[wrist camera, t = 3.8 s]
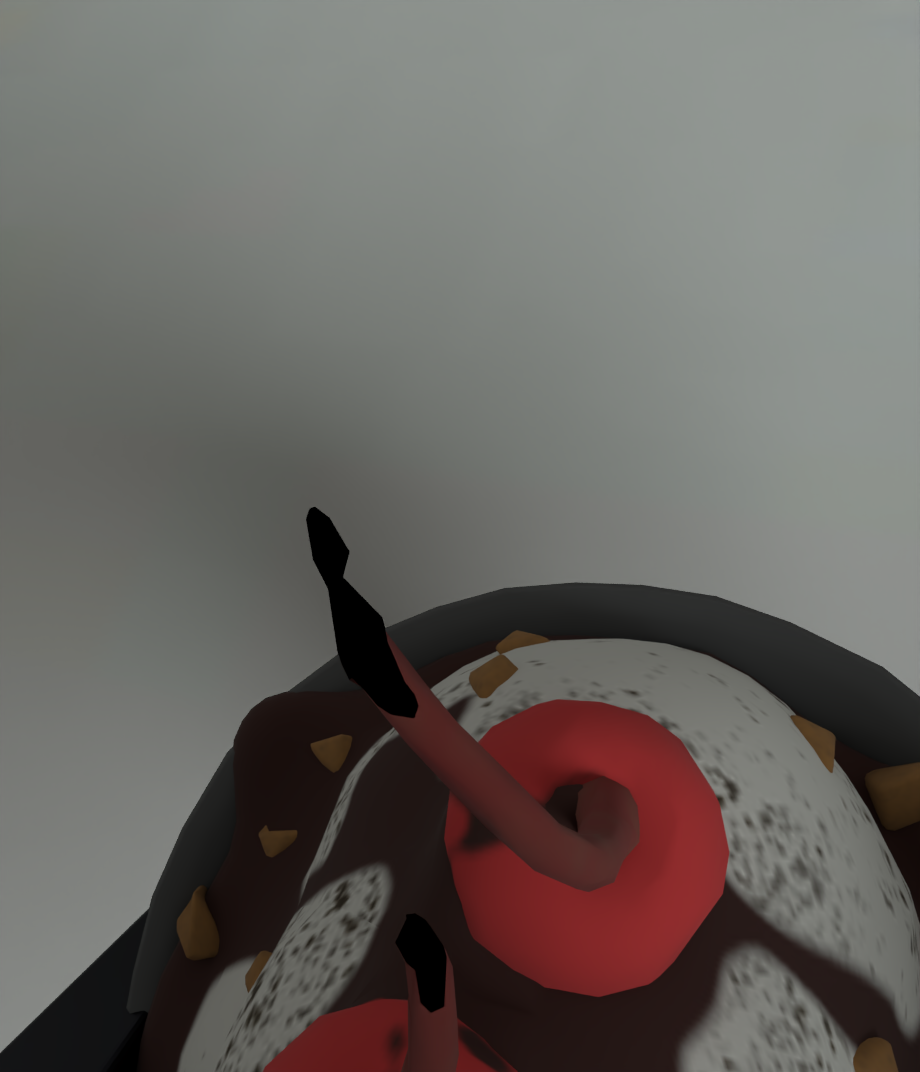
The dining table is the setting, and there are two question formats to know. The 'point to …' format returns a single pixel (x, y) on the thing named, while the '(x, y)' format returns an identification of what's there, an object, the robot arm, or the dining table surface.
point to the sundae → (550, 850)
